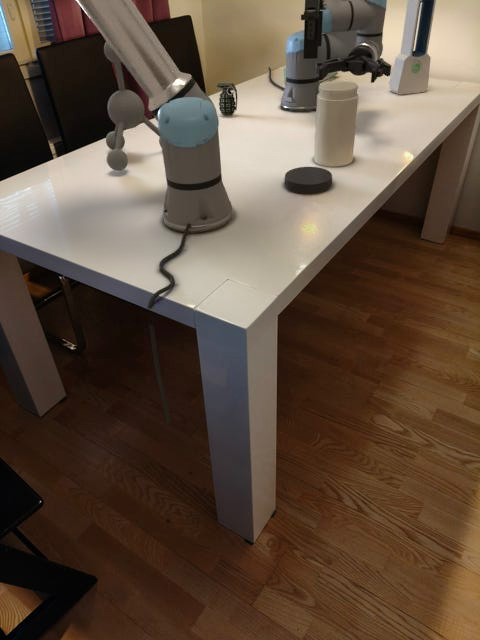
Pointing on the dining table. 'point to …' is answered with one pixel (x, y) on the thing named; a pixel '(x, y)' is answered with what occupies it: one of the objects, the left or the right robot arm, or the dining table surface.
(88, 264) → the dining table surface
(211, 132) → the left robot arm
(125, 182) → the dining table surface
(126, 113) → the molecular model
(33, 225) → the dining table surface
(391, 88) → the electronic device
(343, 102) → the jar
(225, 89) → the grenade
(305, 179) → the lid
